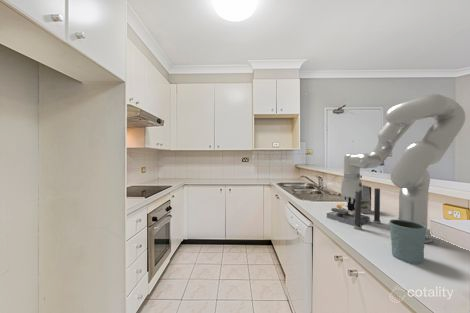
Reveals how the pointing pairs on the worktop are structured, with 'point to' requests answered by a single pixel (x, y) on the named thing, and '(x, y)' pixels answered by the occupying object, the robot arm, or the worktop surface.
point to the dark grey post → (377, 206)
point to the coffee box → (366, 200)
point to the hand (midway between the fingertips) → (350, 210)
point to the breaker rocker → (345, 209)
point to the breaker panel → (345, 216)
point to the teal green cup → (407, 240)
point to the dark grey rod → (357, 210)
